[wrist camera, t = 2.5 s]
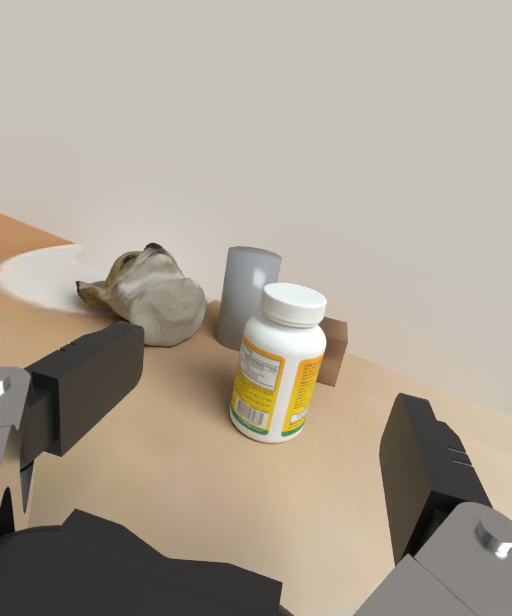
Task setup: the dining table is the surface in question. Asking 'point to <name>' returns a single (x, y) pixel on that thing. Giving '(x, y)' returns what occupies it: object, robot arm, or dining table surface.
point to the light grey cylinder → (244, 291)
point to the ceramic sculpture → (150, 296)
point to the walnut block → (332, 350)
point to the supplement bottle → (279, 363)
